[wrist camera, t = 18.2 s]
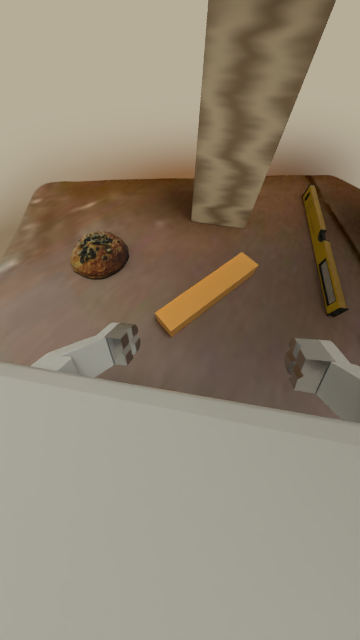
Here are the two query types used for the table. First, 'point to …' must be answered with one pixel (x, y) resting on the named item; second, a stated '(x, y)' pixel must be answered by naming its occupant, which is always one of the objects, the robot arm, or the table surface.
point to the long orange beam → (205, 294)
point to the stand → (248, 97)
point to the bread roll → (99, 255)
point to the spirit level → (323, 255)
